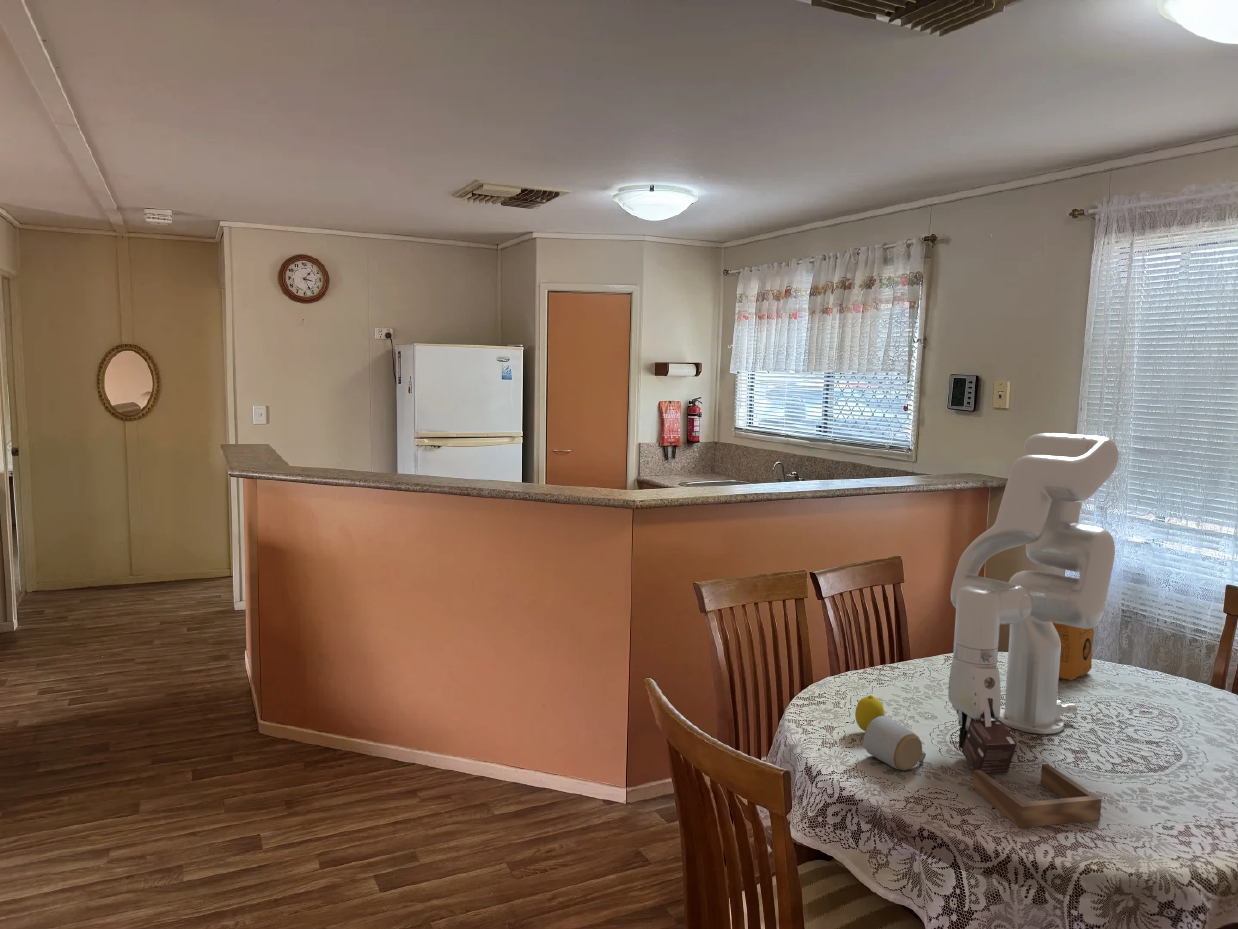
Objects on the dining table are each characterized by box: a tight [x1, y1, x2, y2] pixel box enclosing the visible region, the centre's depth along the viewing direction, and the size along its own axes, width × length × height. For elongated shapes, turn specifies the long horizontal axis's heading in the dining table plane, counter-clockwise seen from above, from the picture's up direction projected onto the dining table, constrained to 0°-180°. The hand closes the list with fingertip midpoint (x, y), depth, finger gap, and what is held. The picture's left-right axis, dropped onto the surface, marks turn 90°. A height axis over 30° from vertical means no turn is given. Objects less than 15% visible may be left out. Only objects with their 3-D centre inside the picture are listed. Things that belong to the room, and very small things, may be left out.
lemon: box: [854, 694, 886, 732], centre depth 165 cm, size 6×6×8 cm
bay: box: [972, 763, 1102, 829], centre depth 138 cm, size 14×12×4 cm
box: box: [961, 719, 1018, 776], centre depth 150 cm, size 6×6×7 cm
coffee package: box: [1052, 622, 1095, 681], centre depth 200 cm, size 10×12×22 cm
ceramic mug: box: [863, 715, 927, 771], centre depth 153 cm, size 11×8×8 cm
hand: (968, 748), depth 155 cm, fingers closed
